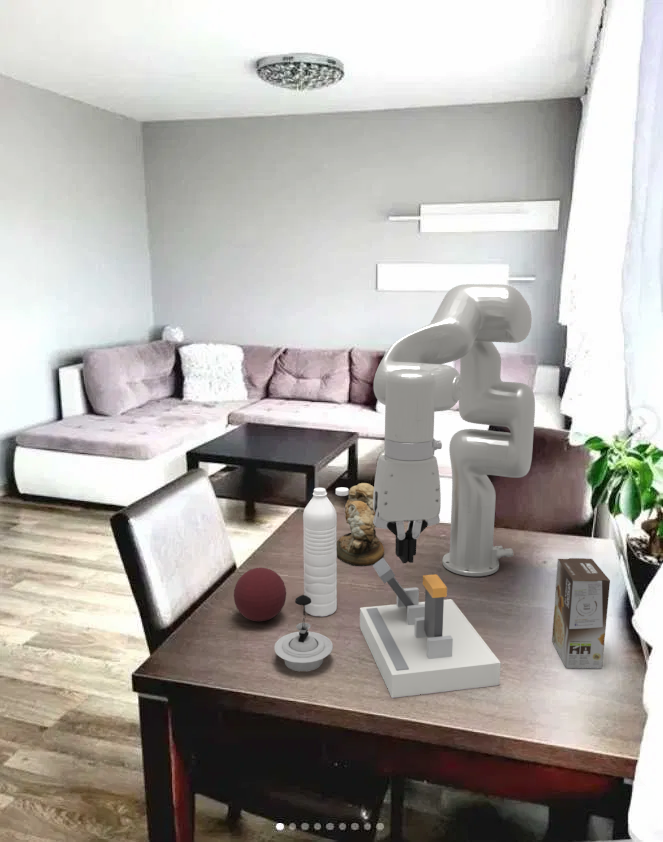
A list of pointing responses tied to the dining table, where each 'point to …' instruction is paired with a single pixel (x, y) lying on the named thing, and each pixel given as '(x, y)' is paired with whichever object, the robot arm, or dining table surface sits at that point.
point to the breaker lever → (434, 605)
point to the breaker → (392, 581)
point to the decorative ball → (259, 594)
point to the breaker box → (426, 649)
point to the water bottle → (321, 553)
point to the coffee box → (580, 612)
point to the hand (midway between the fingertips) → (405, 559)
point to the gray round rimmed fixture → (303, 645)
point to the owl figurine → (360, 529)
